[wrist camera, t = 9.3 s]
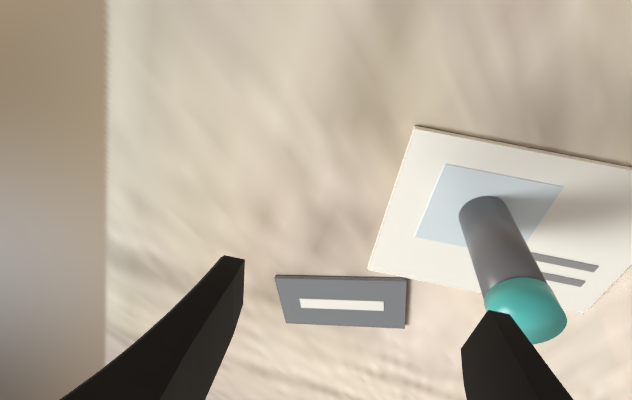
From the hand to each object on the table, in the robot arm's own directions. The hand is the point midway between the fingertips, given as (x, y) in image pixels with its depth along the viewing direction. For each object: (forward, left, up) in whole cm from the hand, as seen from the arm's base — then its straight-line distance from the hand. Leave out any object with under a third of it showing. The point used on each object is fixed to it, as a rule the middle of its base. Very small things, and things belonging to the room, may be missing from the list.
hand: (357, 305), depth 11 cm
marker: (-7, +2, -9) cm, 12 cm away
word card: (-1, +12, -10) cm, 16 cm away
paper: (-9, +3, -10) cm, 14 cm away
